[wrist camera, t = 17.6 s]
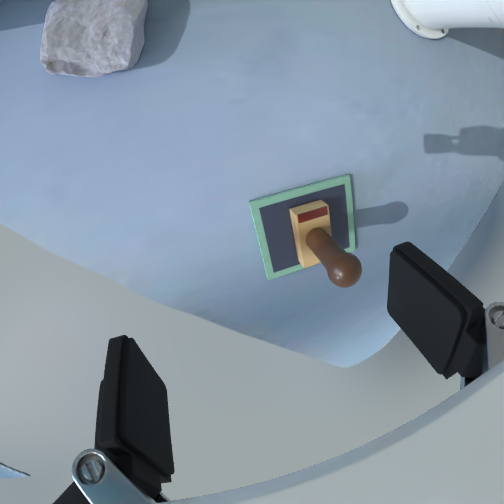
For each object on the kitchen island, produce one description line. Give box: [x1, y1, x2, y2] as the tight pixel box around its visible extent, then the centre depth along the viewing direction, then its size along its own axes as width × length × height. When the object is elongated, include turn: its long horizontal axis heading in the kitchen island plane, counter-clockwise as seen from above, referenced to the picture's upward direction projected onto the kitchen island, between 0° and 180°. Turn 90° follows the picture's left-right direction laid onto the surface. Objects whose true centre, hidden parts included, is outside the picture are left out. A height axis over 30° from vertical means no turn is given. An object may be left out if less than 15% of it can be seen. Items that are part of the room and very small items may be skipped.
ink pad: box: [249, 174, 355, 280], centre depth 42 cm, size 14×12×1 cm
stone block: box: [40, 0, 148, 77], centre depth 23 cm, size 12×5×10 cm
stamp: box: [288, 199, 362, 287], centre depth 36 cm, size 8×4×12 cm, turn 13°
